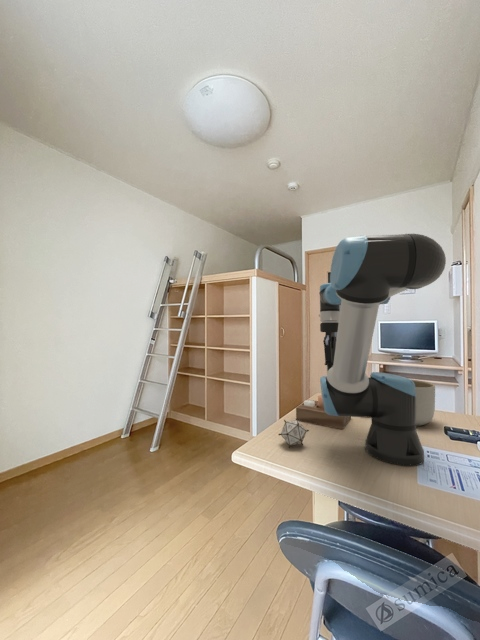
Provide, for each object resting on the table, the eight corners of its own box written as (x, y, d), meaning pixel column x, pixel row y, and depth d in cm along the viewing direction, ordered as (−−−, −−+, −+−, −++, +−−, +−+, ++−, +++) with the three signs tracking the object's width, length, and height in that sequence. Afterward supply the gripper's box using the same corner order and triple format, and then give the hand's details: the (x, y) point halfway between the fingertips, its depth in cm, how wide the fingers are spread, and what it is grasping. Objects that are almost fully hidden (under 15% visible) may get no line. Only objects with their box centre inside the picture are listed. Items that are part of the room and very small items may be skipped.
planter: (392, 427, 101) (391, 386, 102) (380, 413, 118) (379, 377, 118) (444, 431, 97) (443, 388, 98) (424, 415, 114) (424, 379, 114)
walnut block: (342, 429, 100) (342, 415, 100) (296, 420, 109) (296, 407, 110) (350, 418, 111) (350, 406, 111) (308, 410, 121) (308, 399, 121)
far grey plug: (312, 417, 111) (312, 403, 111) (302, 415, 113) (302, 401, 113) (316, 414, 114) (316, 401, 114) (306, 412, 117) (306, 399, 117)
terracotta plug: (327, 412, 107) (327, 398, 107) (316, 411, 110) (316, 397, 110) (330, 410, 111) (330, 396, 111) (320, 408, 113) (319, 394, 114)
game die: (294, 454, 89) (302, 424, 94) (308, 455, 81) (316, 422, 86) (270, 442, 88) (280, 412, 92) (283, 442, 80) (292, 410, 85)
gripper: (324, 323, 117) (325, 378, 116) (316, 321, 106) (317, 383, 104) (342, 322, 113) (343, 380, 112) (336, 321, 102) (337, 385, 101)
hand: (330, 381), depth 108 cm, fingers closed
